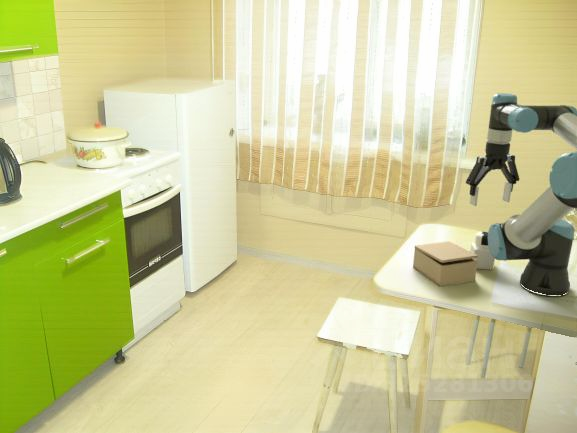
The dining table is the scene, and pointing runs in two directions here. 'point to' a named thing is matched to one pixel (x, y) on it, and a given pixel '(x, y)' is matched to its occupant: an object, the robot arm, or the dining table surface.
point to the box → (445, 269)
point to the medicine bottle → (482, 251)
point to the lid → (446, 251)
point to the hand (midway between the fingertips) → (489, 202)
